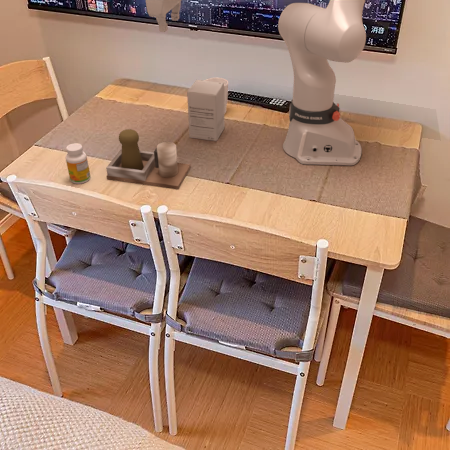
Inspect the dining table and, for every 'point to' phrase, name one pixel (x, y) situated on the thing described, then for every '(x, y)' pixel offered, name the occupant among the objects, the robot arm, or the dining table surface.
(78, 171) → the supplement bottle
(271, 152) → the dining table surface
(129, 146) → the olive brown pawn
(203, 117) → the supplement box
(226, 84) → the white cup
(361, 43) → the robot arm
